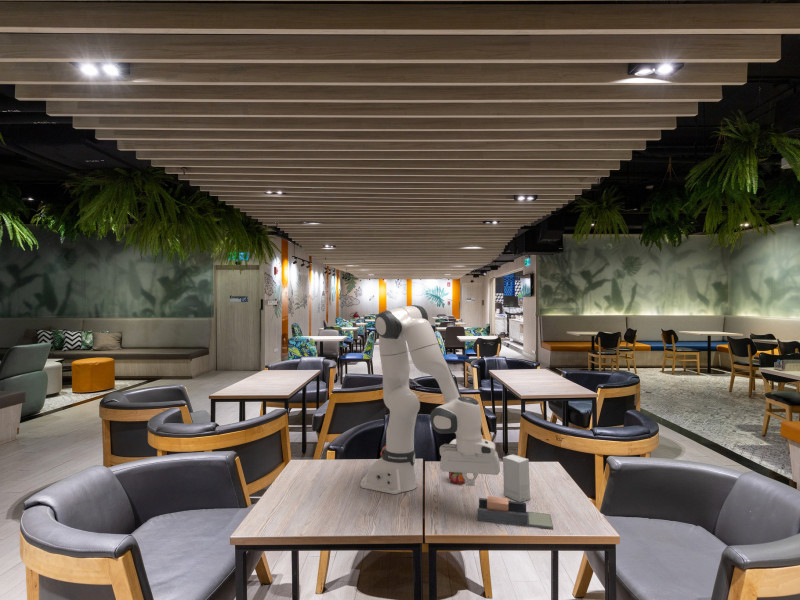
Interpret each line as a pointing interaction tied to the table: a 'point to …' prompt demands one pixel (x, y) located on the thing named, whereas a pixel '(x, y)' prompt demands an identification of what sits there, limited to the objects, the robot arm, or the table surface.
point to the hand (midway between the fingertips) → (470, 485)
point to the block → (497, 503)
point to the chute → (513, 515)
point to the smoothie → (456, 473)
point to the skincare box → (516, 478)
